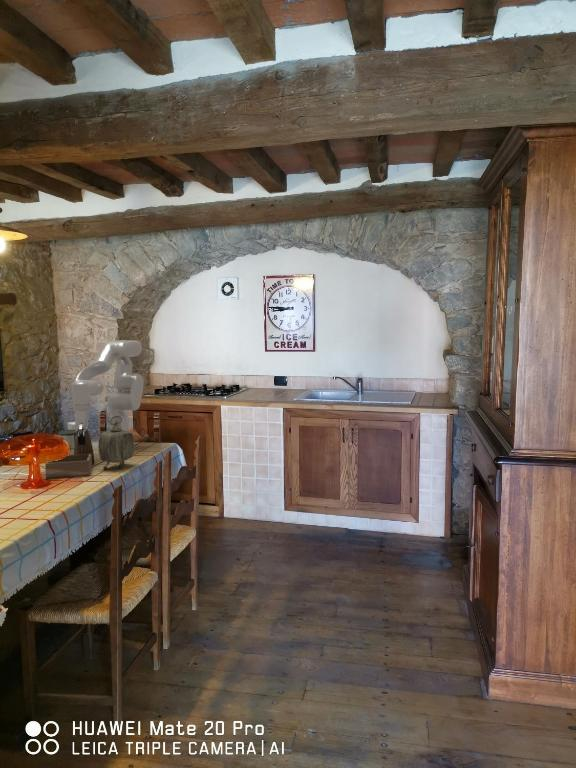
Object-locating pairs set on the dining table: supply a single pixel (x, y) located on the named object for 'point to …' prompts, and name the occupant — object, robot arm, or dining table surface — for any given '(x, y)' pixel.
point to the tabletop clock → (116, 445)
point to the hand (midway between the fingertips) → (82, 442)
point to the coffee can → (69, 438)
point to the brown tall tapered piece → (84, 446)
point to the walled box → (69, 467)
